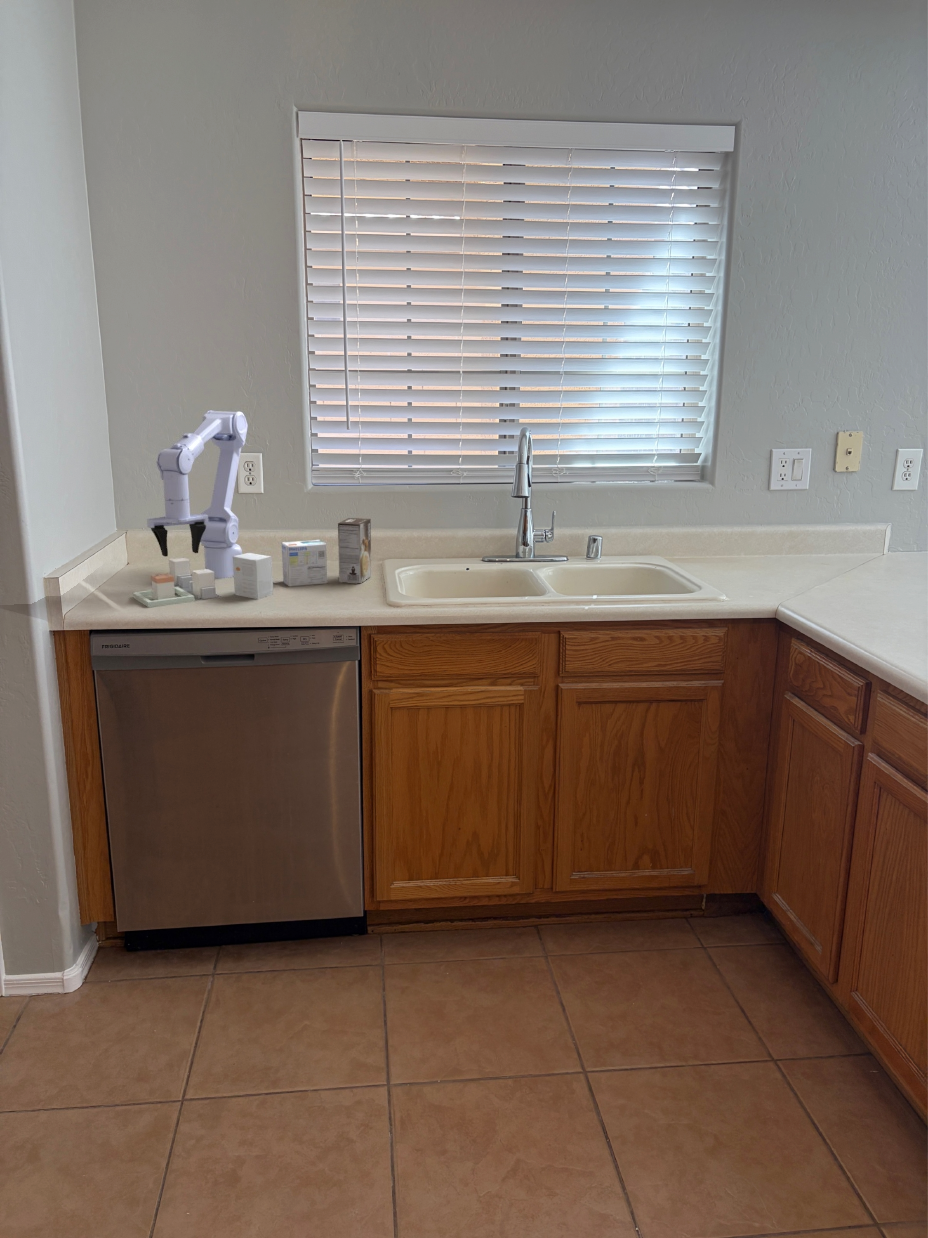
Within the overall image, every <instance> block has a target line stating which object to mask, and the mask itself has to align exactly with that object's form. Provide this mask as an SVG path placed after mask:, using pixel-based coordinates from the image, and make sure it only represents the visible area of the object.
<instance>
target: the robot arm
mask: <svg viewBox="0 0 928 1238" xmlns="http://www.w3.org/2000/svg"><path fill="white" fill-rule="evenodd" d="M248 427H249V425H248V422H247V419H246V416H245V415H244V413H243V412H242V411H224V410H223V411H220V410H218V411H216V410H208V411H206V413H204V414H203V416H202V423H201V424H200V425H199V426H198V427H197V428H196V429H195V431H194V432H193V433H191V432H184V433H183V434H182V437H180V439H179V440H177V441H176V442H175V443H174V444H173V445H172V446H171V447H170V448H164V449H163V450H161V451H159V453H158V456H157V461H156V467H157V469H158V470H159V473H160V479H161V480H162V482H163V492H164V494H163V495H164V496H163V497H164V511H165V516H160V517H153V518H146V525H147V528H150V530H151V531H152V533H153V535H154V537H155V539H156V541H157V542H158V546H159V548H160V551H161V552H160V553H161V556H163V557H168V554H169V551H168V530H167V529H166V527H171V526H184V525H189V529H190V535H191V550H192V553H194V554H198V553H199V549H200V543H201V546H203V554H204V569H209V570H211V571H213V572H214V578H215V580H216V579H217V580H218V579H227V578H232V577H233V578H234V572H233V556H236V555H241V554H243V551H242V547H241V546H240V545H239V544H238V543H236V542H237V541H238V540H239V539H238V538H239V535H240V533H239V532H240V531H239V521H240V520H239V517H237V516H236V514H235V513H234V512H233V511H231V510H232V505H233V504H232V503H233V497H234V492H235V487H236V480H237V474H238V469H239V463H240V458H241V452H242V448H243V447H244V446H245V443H246V440H247V439H246V438H247V431H248ZM210 440H211V441H212V443H213V445H215V446H216V447H218V448H219V455H218V460H217V461H218V463H217V468H216V474H215V480H214V485H213V490H212V491H213V492H212V496H211V497H212V498H211V502H210V506H209V507H208V508H207V509H205V510H204V511H203V512H201V514H191V509H190V493H189V475H188V474H189V473H190V472H191V470H192V468H193V464H194V462H195V459H197V457H199V455H200V454H202V453H203V452H204V449H205V444H206V443H207V442H209V441H210Z"/></svg>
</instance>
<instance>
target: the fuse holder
mask: <svg viewBox="0 0 928 1238" xmlns="http://www.w3.org/2000/svg"><path fill="white" fill-rule="evenodd" d="M177 579H178V585H175V584H174V587H179V588H181V589H183V590H184V591H186V592H188V593H190V594H191V595H193V579H192V573H191V574H185V575H177ZM216 592H217V591H216V586H215V587H206V588H201V595H202V598H198V597H197V596H195V595H193V596H194V599H195V600H196V601H198V600H207V599H214V598H219V597H221V595H220V594H218V593H216Z"/></svg>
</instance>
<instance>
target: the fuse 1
mask: <svg viewBox="0 0 928 1238" xmlns="http://www.w3.org/2000/svg"><path fill="white" fill-rule="evenodd" d="M168 564H169V565H168V566H169V567H168V568H169V574H170V575H172V576H173V577H174V584H175V585H178V579H177V575H185V574H191V575H192V570H191V560H190V559H188V558H186V557H184V556H183V557H177V558H168Z"/></svg>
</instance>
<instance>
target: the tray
mask: <svg viewBox="0 0 928 1238" xmlns="http://www.w3.org/2000/svg"><path fill="white" fill-rule="evenodd" d="M174 590H175V594H177V595H178V596H175V598H169V599H161V600H154V599H153V600H150V599H149V598H147V597H153V593H152V589H149V590H144V591H143V590H142V591H134V592H132V598H133V599H135V600H137V601H138V602H139V603H141V604H142V605H144V606H146V607H147V608H154V607H155V608H156V607H163V606H169V605H176V604H177V605H179V604H184V603H192V602H195V600H196V599H195V598H194V596H193V595H191V594H190V593H188V592H186V591H184V590H183V589H181V588H179V587H174Z"/></svg>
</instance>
